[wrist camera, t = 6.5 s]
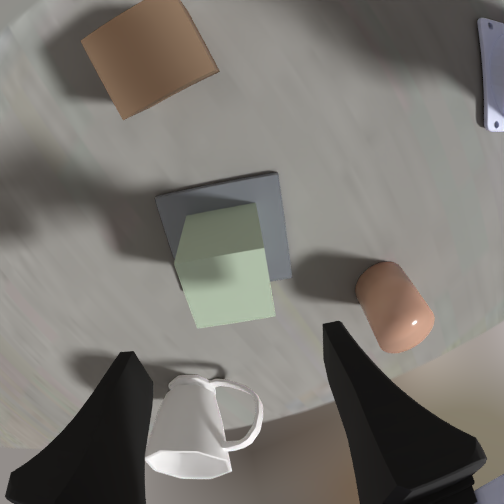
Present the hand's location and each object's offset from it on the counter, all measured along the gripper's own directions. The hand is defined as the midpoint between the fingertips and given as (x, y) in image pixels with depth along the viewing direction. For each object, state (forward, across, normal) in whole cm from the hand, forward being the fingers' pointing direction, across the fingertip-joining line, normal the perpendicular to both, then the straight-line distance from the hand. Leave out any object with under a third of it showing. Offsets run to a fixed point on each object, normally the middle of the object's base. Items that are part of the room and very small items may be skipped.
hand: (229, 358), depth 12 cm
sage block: (+9, 0, 0) cm, 9 cm away
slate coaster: (+9, 0, 0) cm, 9 cm away
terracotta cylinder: (+9, -10, +6) cm, 15 cm away
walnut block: (+10, +1, -11) cm, 15 cm away
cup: (+10, +5, +14) cm, 18 cm away
